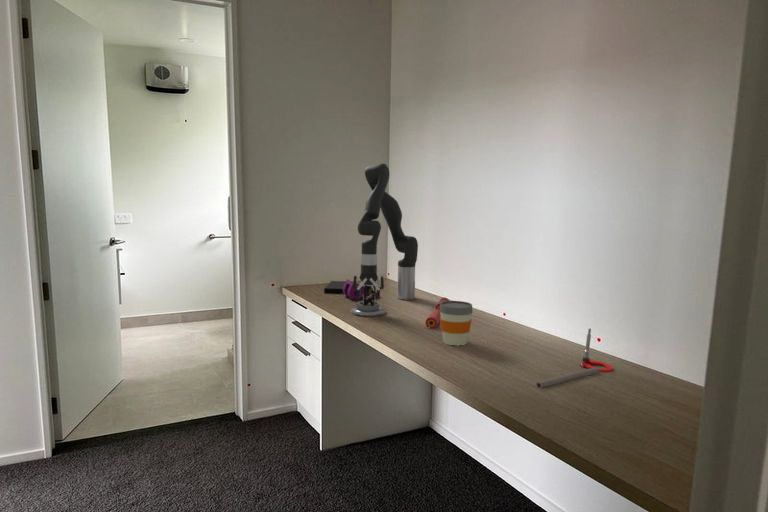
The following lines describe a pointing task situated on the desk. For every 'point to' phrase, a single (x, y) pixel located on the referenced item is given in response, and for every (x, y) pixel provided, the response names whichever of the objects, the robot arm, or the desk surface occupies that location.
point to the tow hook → (588, 361)
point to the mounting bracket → (352, 290)
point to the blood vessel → (435, 315)
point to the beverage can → (369, 295)
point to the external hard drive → (334, 287)
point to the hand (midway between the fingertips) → (368, 297)
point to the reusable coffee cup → (455, 321)
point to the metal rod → (567, 377)
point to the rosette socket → (368, 309)
